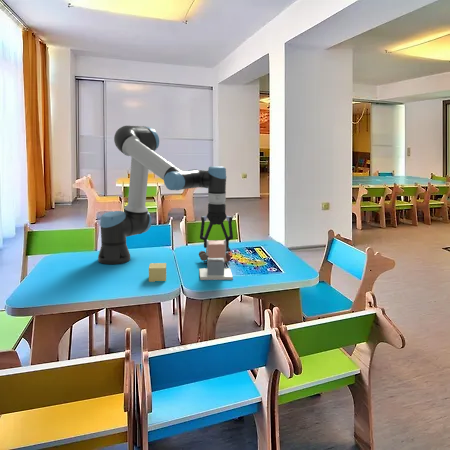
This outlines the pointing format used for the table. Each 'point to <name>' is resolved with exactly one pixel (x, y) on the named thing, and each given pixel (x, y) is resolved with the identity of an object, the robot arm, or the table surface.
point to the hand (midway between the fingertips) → (216, 254)
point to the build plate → (205, 275)
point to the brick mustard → (157, 272)
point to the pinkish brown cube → (216, 249)
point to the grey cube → (215, 266)
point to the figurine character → (204, 257)
